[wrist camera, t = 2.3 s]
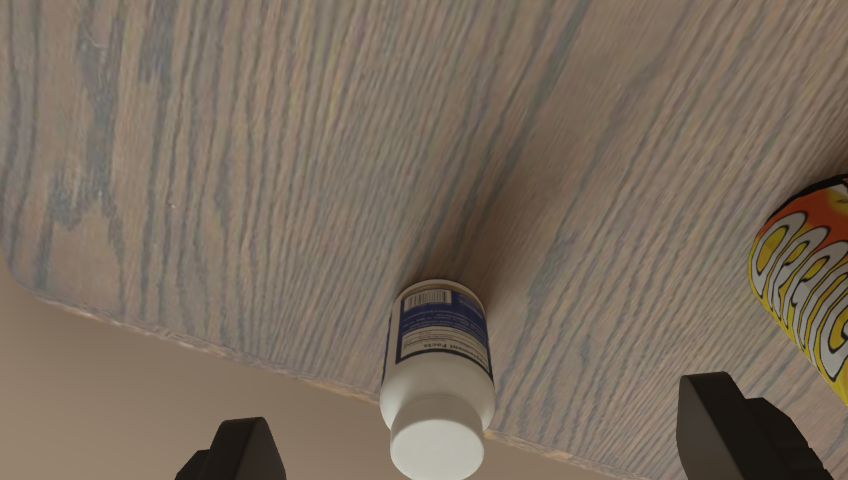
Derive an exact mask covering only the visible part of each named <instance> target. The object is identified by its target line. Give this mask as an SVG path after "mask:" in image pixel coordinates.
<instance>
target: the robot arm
mask: <svg viewBox="0 0 848 480" xmlns="http://www.w3.org/2000/svg"><path fill="white" fill-rule="evenodd" d="M676 440H677V447H678V452H679V456H680V460H681V463H682V466H683V468H684V471H685V473H686V475H687V477H688V480H834V479H833V478H832V476H831V475H830V473H829V472H828V471H827V469H824V468H823V464H822V462H821V461H820V459H819V458H818V456H817V455H816V454H815V452H814V451H813V449H812V448H809V446H808V442H807V441H806V440H805V438H804V437H803V435H802V434H801V432H800V431H799V430H798V428H797V427H796V425H795V424H794V423H793V421H792V420H791V418H790V417H788V416H787V415H786V414H784V413H783V412H782V411H780V410H779V409H778V408H776V407H775V406H774V405H772V404H771V403H770V402H768V401H767V400H766V399H764V398H763V397H761V398H750V399H745V398H744V396H743V395H742V393H741V391H740V390H739V388H738V387H737V385H736V384H735V382H734V381H733V379H732V378H731V376H730V375H729V374H728V373H727V372H724V371H722V372H712V373H702V374H692V375H683V376H682V377H681V379H680V385H679V400H678V414H677V429H676ZM175 480H286V473H285V469H284V466H283V463H282V461H281V458H280V455H279V453H278V450H277V447H276V445H275V442H274V439H273V437H272V434H271V432H270V429H269V426H268V424H267V422H266V420H265V419H264V418H263V417H254V418H244V419H234V420H225V421H223V422H222V423H221V425H220V426H219V428H218V431H217V433H216V435H215V437H214V440H213V442H212V445H211V447H210V449H208V450H198V451H197V452H196V453H195V454H194V455H193V456H192V458H191V459H190V460H189V461H188V462H187V463H186V464H185V465H184V467H183V468H182V469H181V470H180V471H179V472H178V473H177V476H176V478H175Z"/></svg>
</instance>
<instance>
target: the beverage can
mask: <svg viewBox="0 0 848 480" xmlns="http://www.w3.org/2000/svg"><path fill="white" fill-rule="evenodd" d="M748 277H749V281H750V284H751V288H752V291H753V293H754V294H755V295H756V297H757V298H758V299H759V301H760V302H761V303H762V305H763V306H764V307H765V308H766V310H767V311H768V312H769V313H770V314H771V316H772V317H773V318H774V319H775V320H776V322H777V323H778V324H779V325H780V326H781V328H782V329H783V330H784V331H785V332H786V334H787V335H788V336H789V337H790V338H791V340H792V341H793V342H794V343H795V344H796V346H797V347H798V348H799V349H800V350H801V352H802V353H803V354H804V355H805V356H806V357H807V359H808V360H809V361H810V362H811V363H812V365H813V366H814V367H815V368H816V369H817V371H818V372H819V373H820V374H821V375H822V377H823V378H824V379H825V380H826V381H827V383H828V384H829V385H830V386H831V387H832V389H833V390H834V391H835V392H836V393H837V395H838V396H839V397H840V398H841V399H842V401H843V402H844V403H845V404H846V405H847V407H848V174H842V175H837V176H834V177H831V178H829V179H826V180H824V181H821V182H818V183H816V184H813V185H811V186H809V187H808V188H806V189H805V190H803V191H801V192H800V193H798V194H797V195H795V196H793V197H792V198H790V199H789V200H787V201H786V202H785V203H784V204H783V205H782V206H781V207H780V208H779V209H778V210H777V211H776V212H775V213H774V214H773V215H772V216H770V218H769V219H768V220H767V222H766V223H765V225H764V226H763V228H762V229H761V231H760V232H759V233H758V235H757V236H756V239H755V242H754V244H753V247H752V250H751V252H750V255H749V265H748Z"/></svg>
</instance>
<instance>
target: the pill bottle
mask: <svg viewBox="0 0 848 480" xmlns="http://www.w3.org/2000/svg"><path fill="white" fill-rule="evenodd" d="M495 405H496V402H495V387H494V381H493V374H492V366H491V355H490V348H489V340H488V332H487V324H486V318H485V312H484V309H483V306H482V304H481V302H480V301H479V299H478V298H477V296H476V295H475V294H474V293H473V292H472V291H471V290H469V289H468V288H466V287H465V286H463V285H461V284H459V283H456V282H453V281H449V280H443V279H432V280H427V281H422V282H419V283H416V284H413V285H412V286H410V287H408V288H407V289H406V290H404V291H403V292H402V293H401V294H400V295H399V297H398V298H397V299H396V301H395V303H394V305H393V307H392V310H391V313H390V318H389V324H388V334H387V342H386V350H385V358H384V366H383V375H382V382H381V390H380V408H381V413H382V416H383V418H384V420H385V422H386V424H387V426H388V427H389V429H390V430H391V445H390V452H391V458H392V460H393V462H394V464H395V466H396V467H397V468H398V469H399V470H400V471H401V472H402V473H403V474H405V475H406V476H408V477H409V478H411V479H413V480H463V479H465V478H466V477H468V476H470V475H471V474H472V473H474V472H475V471H476V470H477V469H478V467H479V466H480V465H481V462H482V460H483V457H484V435H483V432H484V431H485V430H486V428H487V427H488V425H489V424H490V422H491V420H492V418H493V415H494V411H495Z"/></svg>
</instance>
